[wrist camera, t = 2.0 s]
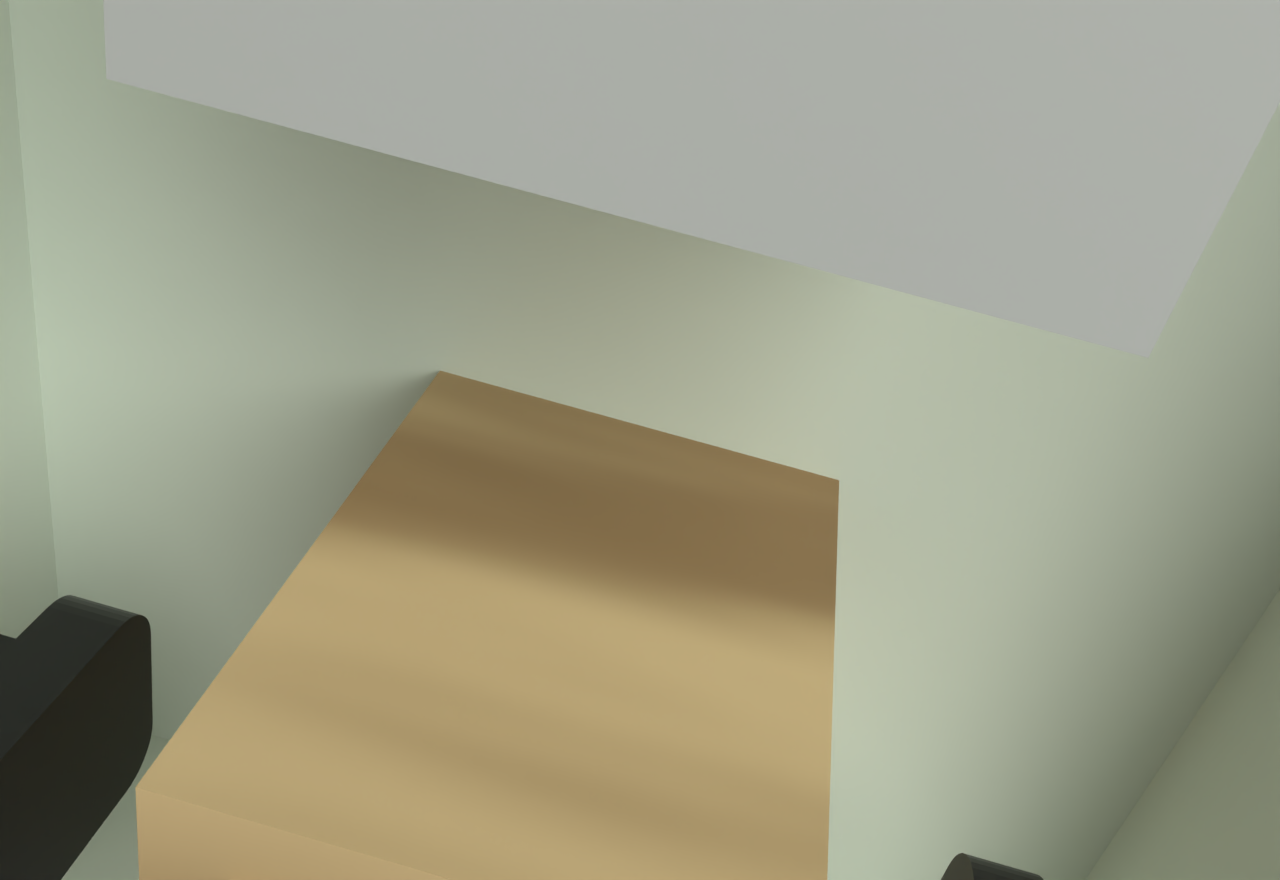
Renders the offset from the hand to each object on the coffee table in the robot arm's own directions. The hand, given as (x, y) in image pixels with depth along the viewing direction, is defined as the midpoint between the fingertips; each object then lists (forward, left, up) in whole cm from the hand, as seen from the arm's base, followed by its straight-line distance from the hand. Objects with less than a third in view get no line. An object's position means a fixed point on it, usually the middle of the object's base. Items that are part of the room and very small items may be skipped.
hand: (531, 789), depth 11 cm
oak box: (0, 0, -3) cm, 3 cm away
